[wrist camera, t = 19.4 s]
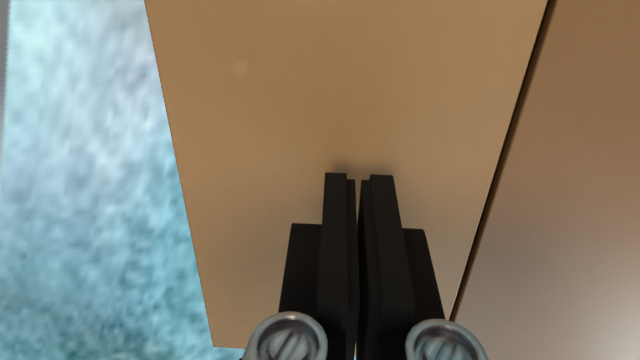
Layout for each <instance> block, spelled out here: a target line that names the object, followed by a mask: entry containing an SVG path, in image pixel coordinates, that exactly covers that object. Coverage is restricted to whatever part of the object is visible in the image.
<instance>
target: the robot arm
mask: <svg viewBox="0 0 640 360" xmlns="http://www.w3.org/2000/svg"><path fill="white" fill-rule="evenodd" d="M355 345H356V360H489V358H488V356H487V354H486V352H485V350H484V348H483V346H482V345H481V343H480V342H479V340H478V339H477V338H476V337H475V336H474V335H473V334H472V333H471V332H470V331H469V330H468V329H466V328H464V327H463V326H461V325H459V324H457V323H455V322H452V321H449V320H446V319H445V315H444V311H443V307H442V302H441V298H440V294H439V289H438V285H437V281H436V277H435V272H434V268H433V264H432V260H431V255H430V251H429V247H428V243H427V238H426V235H425V232H424V230H423V229H416V228H402V224H401V218H400V212H399V206H398V201H397V195H396V189H395V183H394V178H393V175H379V174H371V175H370V179H369V180H362V181H361V190H360V200H359V211H358V222H357V212H356V188H355V179H347V173H331V172H325V181H324V198H323V214H322V224H305V223H292V225H291V229H290V236H289V243H288V249H287V256H286V263H285V269H284V276H283V283H282V289H281V296H280V303H279V309H278V313H276V314H274V315H272V316H270V317H268V318H266V319H264V320H263V321H262V322H261V323H260V324H259V325H258V326H257V327H256V328H255V330H254V331H253V333H252V335H251V337H250V339H249V342H248V344H247V347H246V350H245V352H244V355H243V357H242V358H241V359H239V360H354V354H355Z"/></svg>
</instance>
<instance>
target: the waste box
mask: <svg viewBox="0 0 640 360" xmlns="http://www.w3.org/2000/svg"><path fill="white" fill-rule="evenodd" d="M449 321H452V322H455V323H457V324H459V325H461V326H463V327H464V328H466V329H468V330H469V331H470V332H471V333H472V334H473V335H474V336H475V337H476V338H477V339H478V340H479V342H480V343H481V345H482V346H483V348H484V350H485V352H486V354H487V356H488V358H489V360H640V0H548V1H547V4H546V8H545V11H544V14H543V17H542V21H541V24H540V27H539V30H538V34H537V37H536V40H535V43H534V46H533V50H532V53H531V56H530V59H529V63H528V66H527V69H526V72H525V76H524V79H523V82H522V85H521V88H520V92H519V95H518V98H517V101H516V105H515V108H514V111H513V114H512V118H511V121H510V124H509V127H508V130H507V134H506V137H505V140H504V143H503V147H502V150H501V153H500V156H499V160H498V163H497V166H496V169H495V173H494V176H493V179H492V182H491V185H490V189H489V192H488V195H487V198H486V202H485V205H484V208H483V211H482V215H481V218H480V221H479V224H478V227H477V231H476V234H475V237H474V240H473V244H472V247H471V250H470V253H469V257H468V260H467V263H466V266H465V269H464V273H463V276H462V279H461V282H460V286H459V289H458V292H457V295H456V299H455V302H454V305H453V308H452V312H451V315H450V318H449Z"/></svg>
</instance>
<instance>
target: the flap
mask: <svg viewBox="0 0 640 360" xmlns="http://www.w3.org/2000/svg"><path fill="white" fill-rule="evenodd" d="M547 1H548V0H144V2H145V7H146V12H147V17H148V22H149V27H150V32H151V37H152V42H153V47H154V52H155V57H156V62H157V67H158V72H159V77H160V82H161V87H162V92H163V97H164V102H165V107H166V112H167V117H168V122H169V127H170V132H171V137H172V142H173V147H174V152H175V157H176V162H177V167H178V172H179V177H180V182H181V187H182V192H183V197H184V202H185V207H186V212H187V217H188V222H189V227H190V232H191V237H192V242H193V247H194V252H195V257H196V262H197V267H198V272H199V277H200V282H201V287H202V292H203V297H204V302H205V308H206V313H207V318H208V323H209V328H210V333H211V338H212V343H213V346H214V347H227V348H242V349H246V347H247V344H248V342H249V339H250V337H251V335H252V333H253V331H254V330H255V328H256V327H257V326H258V325H259V324H260V323H261V322H262V321H263V320H264V319H266V318H268V317H270V316H272V315H274V314H276V313H278V309H279V303H280V296H281V289H282V283H283V276H284V269H285V263H286V256H287V249H288V243H289V236H290V229H291V225H292V223H305V224H322V214H323V198H324V181H325V172H331V173H347V179H355V188H356V212H357V222H358V211H359V200H360V190H361V181H362V180H369V179H370V175H371V174H379V175H393V178H394V183H395V189H396V195H397V201H398V206H399V212H400V218H401V224H402V228H416V229H423V230H424V232H425V235H426V238H427V243H428V247H429V251H430V255H431V260H432V264H433V268H434V272H435V277H436V281H437V285H438V289H439V294H440V298H441V302H442V307H443V311H444V315H445V319H446V320H449V318H450V315H451V312H452V308H453V305H454V302H455V299H456V295H457V292H458V289H459V286H460V282H461V279H462V276H463V273H464V269H465V266H466V263H467V260H468V257H469V253H470V250H471V247H472V244H473V240H474V237H475V234H476V231H477V227H478V224H479V221H480V218H481V215H482V211H483V208H484V205H485V202H486V198H487V195H488V192H489V189H490V185H491V182H492V179H493V176H494V173H495V169H496V166H497V163H498V160H499V156H500V153H501V150H502V147H503V143H504V140H505V137H506V134H507V130H508V127H509V124H510V121H511V118H512V114H513V111H514V108H515V105H516V101H517V98H518V95H519V92H520V88H521V85H522V82H523V79H524V76H525V72H526V69H527V66H528V63H529V59H530V56H531V53H532V50H533V46H534V43H535V40H536V37H537V34H538V30H539V27H540V24H541V21H542V17H543V14H544V11H545V8H546V4H547ZM354 356H356V345H355V354H354Z"/></svg>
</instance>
